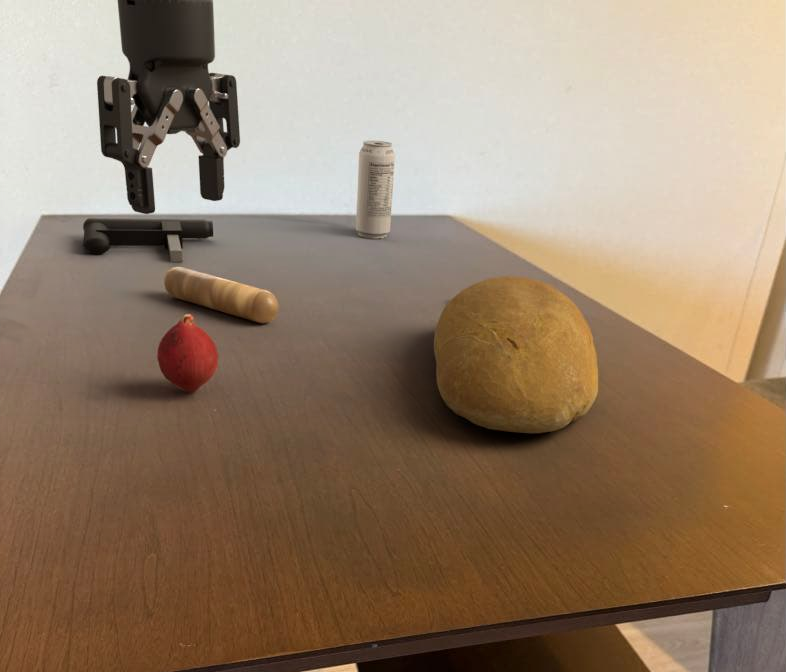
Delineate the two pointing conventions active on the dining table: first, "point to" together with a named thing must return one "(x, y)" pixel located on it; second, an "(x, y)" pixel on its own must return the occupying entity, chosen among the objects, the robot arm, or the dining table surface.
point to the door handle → (143, 233)
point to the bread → (515, 356)
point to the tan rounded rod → (221, 294)
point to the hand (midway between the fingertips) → (178, 205)
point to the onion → (187, 355)
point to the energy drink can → (375, 189)
